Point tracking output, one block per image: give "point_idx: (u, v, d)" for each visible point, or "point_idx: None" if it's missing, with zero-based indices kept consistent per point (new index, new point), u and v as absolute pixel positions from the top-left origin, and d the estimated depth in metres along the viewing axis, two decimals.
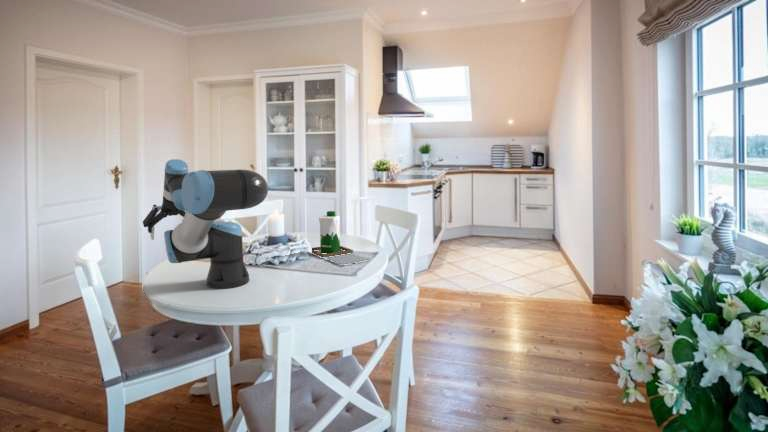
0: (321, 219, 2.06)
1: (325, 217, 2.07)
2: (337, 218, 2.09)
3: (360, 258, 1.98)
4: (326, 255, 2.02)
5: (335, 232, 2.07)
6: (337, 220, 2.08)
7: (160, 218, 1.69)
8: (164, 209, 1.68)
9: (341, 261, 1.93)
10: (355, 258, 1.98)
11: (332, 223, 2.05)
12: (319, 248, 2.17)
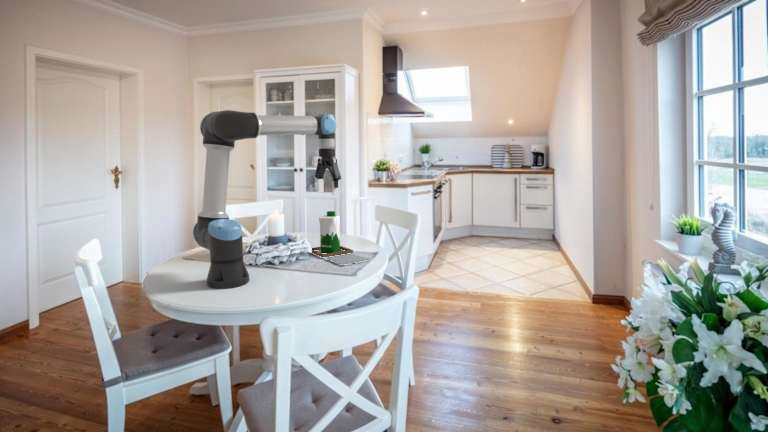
0: (321, 219, 2.06)
1: (325, 217, 2.07)
2: (337, 218, 2.09)
3: (360, 258, 1.98)
4: (326, 255, 2.02)
5: (335, 232, 2.07)
6: (337, 220, 2.08)
7: (320, 169, 2.09)
8: (321, 160, 2.07)
9: (341, 261, 1.93)
10: (355, 258, 1.98)
11: (332, 223, 2.05)
12: (319, 248, 2.17)
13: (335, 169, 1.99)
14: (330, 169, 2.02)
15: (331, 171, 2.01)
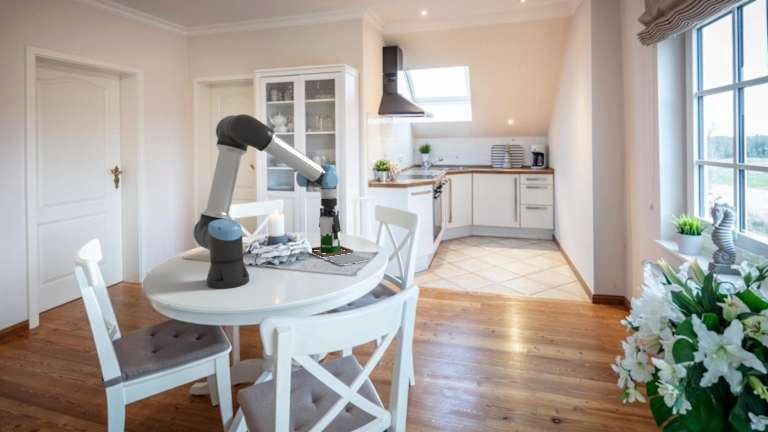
0: (321, 219, 2.06)
1: (325, 217, 2.07)
2: None
3: (360, 258, 1.98)
4: (326, 255, 2.02)
5: None
6: None
7: None
8: (323, 208, 2.11)
9: (341, 261, 1.93)
10: (355, 258, 1.98)
11: (332, 223, 2.05)
12: (319, 248, 2.17)
13: (336, 221, 2.04)
14: None
15: None
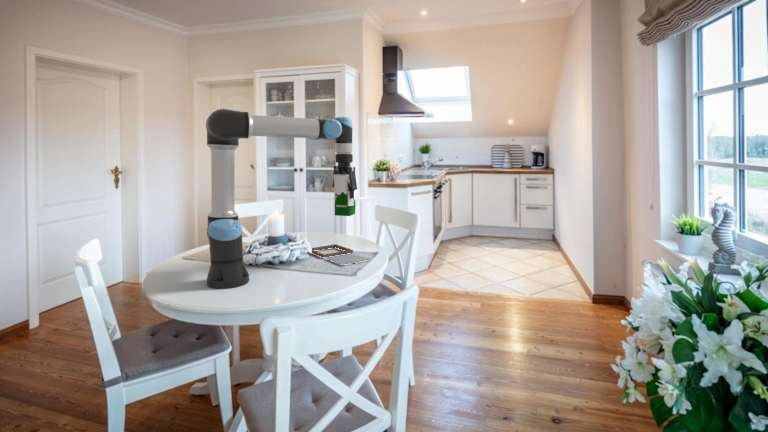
0: (336, 176, 1.90)
1: (340, 174, 1.91)
2: None
3: (360, 258, 1.98)
4: (326, 255, 2.02)
5: None
6: None
7: None
8: (338, 166, 1.95)
9: (341, 261, 1.93)
10: (355, 258, 1.98)
11: None
12: (319, 248, 2.17)
13: (352, 178, 1.87)
14: None
15: None
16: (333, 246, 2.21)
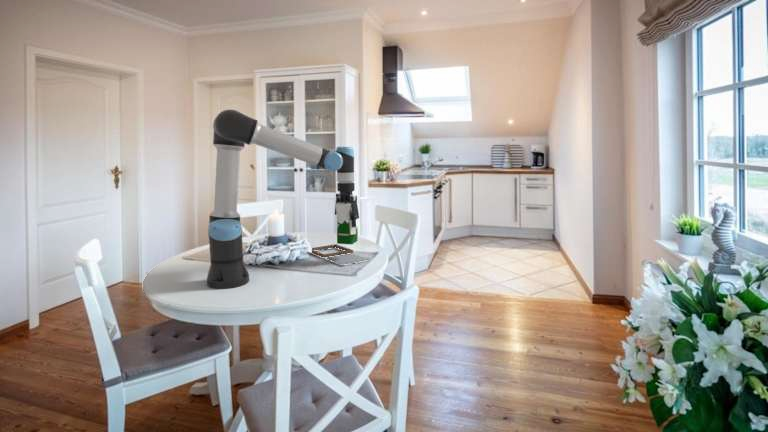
0: (338, 205, 1.91)
1: (342, 203, 1.92)
2: None
3: (360, 258, 1.98)
4: (326, 255, 2.02)
5: None
6: None
7: None
8: (340, 194, 1.96)
9: (341, 261, 1.93)
10: (355, 258, 1.98)
11: None
12: (319, 248, 2.17)
13: (354, 208, 1.88)
14: None
15: None
16: (333, 246, 2.21)
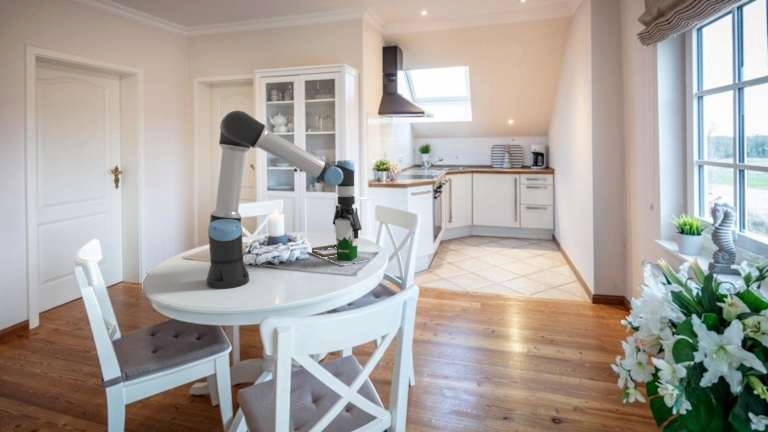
0: (337, 222, 1.92)
1: (342, 220, 1.93)
2: None
3: (360, 258, 1.98)
4: (326, 255, 2.02)
5: None
6: None
7: (338, 217, 1.98)
8: (340, 207, 1.96)
9: (341, 261, 1.93)
10: (355, 258, 1.98)
11: (349, 226, 1.91)
12: (319, 248, 2.17)
13: (355, 219, 1.88)
14: (350, 218, 1.91)
15: (351, 221, 1.90)
16: (333, 246, 2.21)
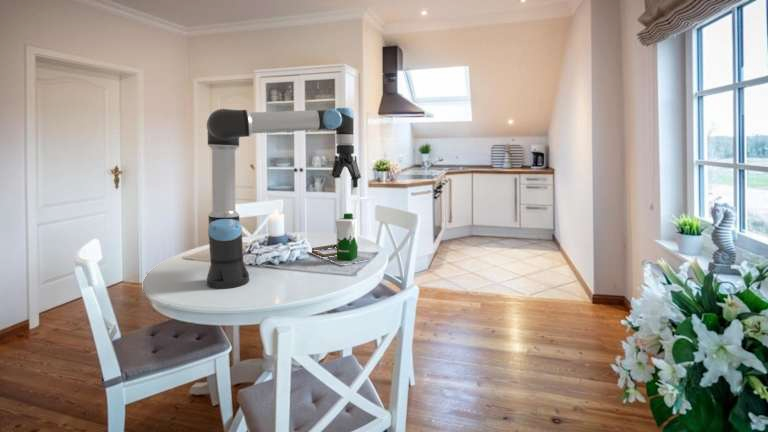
0: (338, 222, 1.92)
1: (342, 220, 1.93)
2: (355, 221, 1.95)
3: (360, 258, 1.98)
4: (326, 255, 2.02)
5: (353, 236, 1.93)
6: (355, 223, 1.94)
7: (337, 167, 1.95)
8: (339, 157, 1.93)
9: (341, 261, 1.93)
10: (355, 258, 1.98)
11: (350, 226, 1.91)
12: (319, 248, 2.17)
13: (354, 167, 1.85)
14: (349, 167, 1.87)
15: (350, 169, 1.87)
16: (333, 246, 2.21)
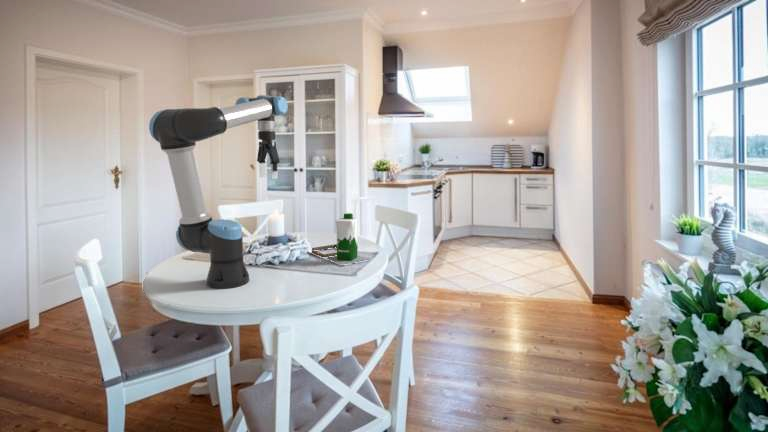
0: (338, 222, 1.92)
1: (342, 220, 1.93)
2: (355, 221, 1.94)
3: (360, 258, 1.98)
4: (326, 255, 2.02)
5: (353, 236, 1.93)
6: (355, 223, 1.94)
7: (261, 153, 2.04)
8: (262, 143, 2.02)
9: (341, 261, 1.93)
10: (355, 258, 1.98)
11: (350, 226, 1.91)
12: (319, 248, 2.17)
13: (273, 152, 1.94)
14: (269, 152, 1.96)
15: (270, 154, 1.96)
16: (333, 246, 2.21)
